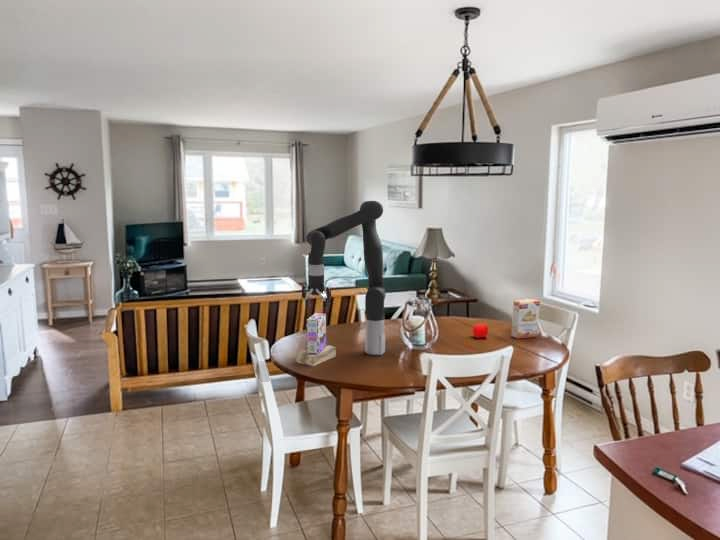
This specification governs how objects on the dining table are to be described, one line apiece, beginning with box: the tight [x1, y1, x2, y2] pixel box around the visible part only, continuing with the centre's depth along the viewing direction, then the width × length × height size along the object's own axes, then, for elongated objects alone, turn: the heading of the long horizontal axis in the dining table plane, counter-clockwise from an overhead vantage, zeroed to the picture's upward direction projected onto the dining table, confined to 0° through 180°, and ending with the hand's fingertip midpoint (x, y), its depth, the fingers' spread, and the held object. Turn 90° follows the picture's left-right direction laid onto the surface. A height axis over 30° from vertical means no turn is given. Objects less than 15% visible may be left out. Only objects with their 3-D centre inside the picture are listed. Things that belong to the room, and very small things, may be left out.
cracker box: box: [510, 298, 541, 340], centre depth 290 cm, size 14×6×21 cm, turn 111°
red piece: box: [471, 323, 489, 339], centre depth 288 cm, size 8×8×8 cm
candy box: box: [305, 312, 327, 354], centre depth 244 cm, size 14×6×16 cm, turn 168°
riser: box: [295, 344, 337, 367], centre depth 246 cm, size 10×18×5 cm, turn 148°
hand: (316, 307), depth 243 cm, fingers open, 8 cm apart
